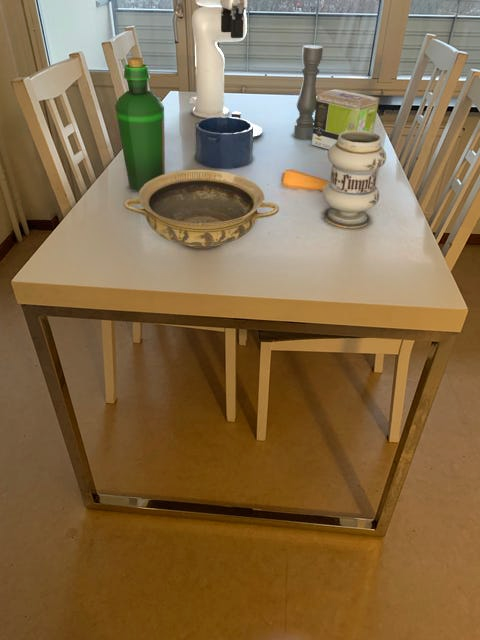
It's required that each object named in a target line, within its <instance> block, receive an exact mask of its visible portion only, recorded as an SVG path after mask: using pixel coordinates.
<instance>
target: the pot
mask: <svg viewBox="0 0 480 640" xmlns="http://www.w3.org/2000/svg"><path fill="white" fill-rule="evenodd" d="M253 125H254V123H252V122H250V121H249V120H247V119H244V118H236V117H232V116H224V117H211V118H203V119H199V120H198V121H196V122H195V123H194V131H195V132H194V135H195V137H194V139H195V160H196V161H197V163H199V164H201V165H203V166H206V167H209V168H215V169H236V168H240V167H244V166H247V165H248V164H250V163H252V159H253V149H254V138H253V130H254V127H253Z"/></svg>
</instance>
